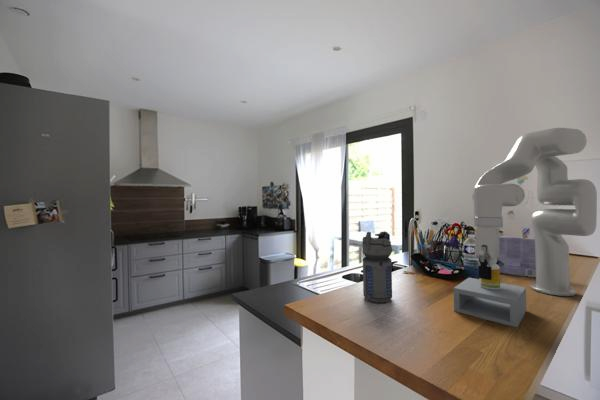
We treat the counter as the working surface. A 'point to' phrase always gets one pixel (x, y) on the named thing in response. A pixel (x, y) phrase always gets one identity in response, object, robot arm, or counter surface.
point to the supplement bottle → (495, 281)
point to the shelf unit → (491, 302)
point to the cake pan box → (517, 256)
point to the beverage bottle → (377, 268)
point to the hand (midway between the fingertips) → (489, 275)
